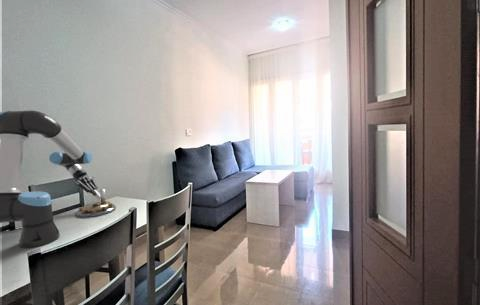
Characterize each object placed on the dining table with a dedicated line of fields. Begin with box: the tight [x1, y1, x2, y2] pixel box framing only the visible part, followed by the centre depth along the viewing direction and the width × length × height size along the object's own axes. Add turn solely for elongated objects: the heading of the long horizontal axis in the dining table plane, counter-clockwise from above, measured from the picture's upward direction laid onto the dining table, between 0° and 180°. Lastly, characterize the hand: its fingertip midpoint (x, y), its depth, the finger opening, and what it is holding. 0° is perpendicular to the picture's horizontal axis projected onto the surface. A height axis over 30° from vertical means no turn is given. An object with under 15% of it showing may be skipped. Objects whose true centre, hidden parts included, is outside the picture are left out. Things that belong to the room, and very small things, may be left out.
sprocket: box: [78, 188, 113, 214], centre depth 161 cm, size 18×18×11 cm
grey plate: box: [75, 203, 117, 219], centre depth 162 cm, size 22×22×2 cm
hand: (99, 198), depth 167 cm, fingers closed
